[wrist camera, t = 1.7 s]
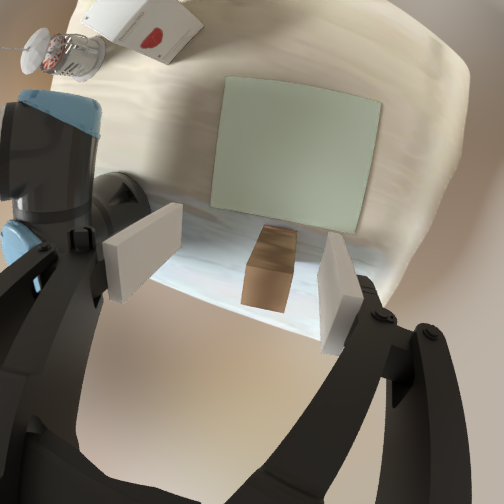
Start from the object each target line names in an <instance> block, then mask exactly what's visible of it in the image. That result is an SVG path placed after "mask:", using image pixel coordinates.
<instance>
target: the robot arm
mask: <svg viewBox="0 0 504 504" xmlns="http://www.w3.org/2000/svg"><path fill="white" fill-rule="evenodd" d="M18 100H19V102H12V103H4V104H3V105H2V107H1V108H0V201H6V200H12V203H13V220H9V221H8V222H7V223H6V224H5V225H4V226H3V228H2V232H1V246H2V250H3V253H4V257H5V259H6V261H7V264H8V267H7V268H6V269H5V270H3V271H2V272H1V273H0V504H201V502H198V501H194V500H191V499H188V498H184V497H181V496H178V495H175V494H172V493H169V492H167V491H164V490H161V489H158V488H156V487H149V486H145V485H139V484H134V483H129V482H125V481H120V480H117V479H113V478H110V477H108V476H106V475H105V474H104V473H103V472H102V471H100V470H99V469H98V468H97V467H96V466H95V465H94V464H93V463H91V462H90V461H89V460H88V459H87V458H86V457H85V456H84V455H83V454H82V453H81V452H80V451H79V443H78V439H77V436H76V420H77V413H78V406H79V400H80V394H81V389H82V384H83V379H84V374H85V369H86V365H87V360H88V356H89V352H90V348H91V344H92V340H93V336H94V332H95V329H96V325H97V322H98V318H99V315H100V311H101V308H102V305H103V294H102V293H103V292H104V291H105V290H106V289H107V288H108V294H109V299H110V300H112V301H115V302H117V303H120V304H124V303H125V302H126V301H127V300H128V299H129V298H130V297H131V296H132V295H133V294H134V292H136V291H137V290H138V289H139V288H140V287H141V285H143V284H144V283H145V281H147V279H149V278H150V277H151V276H152V275H153V274H154V273H155V272H156V271H157V270H158V269H159V268H160V267H161V266H162V265H163V264H164V263H165V262H166V261H167V260H168V259H169V258H170V257H171V256H172V255H173V254H174V253H175V252H176V251H177V250H178V249H179V248H181V237H182V217H183V204H180V203H173V202H171V203H169V204H167V205H166V206H164V207H162V208H160V209H158V210H157V211H155V212H153V213H151V212H150V207H149V203H148V200H147V198H146V196H145V194H144V192H143V190H142V189H141V187H140V186H139V185H138V184H137V183H136V182H135V181H134V180H133V179H132V178H130V177H129V176H127V175H125V174H122V173H118V172H111V173H107V174H103V175H100V176H98V177H96V178H94V171H95V161H96V153H97V146H98V140H99V139H100V134H99V133H100V124H101V116H102V109H101V106H100V104H99V103H98V102H97V101H96V100H94V99H91V98H87V97H83V96H79V95H74V94H69V93H63V92H55V91H47V90H32V89H26V90H23V91H22V92H21V93H20V95H19V96H18ZM317 279H318V294H319V312H320V336H321V353H323V354H330V355H336V356H339V358H338V360H337V362H336V363H335V365H334V366H333V368H332V370H331V371H330V373H329V374H328V376H327V378H326V379H325V381H324V382H323V384H322V386H321V387H320V389H319V390H318V392H317V393H316V395H315V396H314V398H313V399H312V401H311V403H310V404H309V405H308V407H307V408H306V410H305V411H304V412H303V414H302V415H301V417H300V418H299V419H298V421H297V422H296V424H295V425H294V426H293V428H292V429H291V430H290V432H289V433H288V434H287V436H286V437H285V438H284V440H283V441H282V442H281V444H280V445H279V446H278V447H277V449H276V450H275V451H274V453H273V454H272V455H271V456H270V457H269V459H268V460H267V461H266V462H265V463H264V464H263V465H262V466H261V467H260V468H259V469H257V470H256V471H255V472H254V473H253V474H252V475H251V476H250V477H249V478H248V479H247V480H246V482H245V483H244V484H243V485H242V486H241V487H240V488H239V489H238V490H237V491H236V492H235V493H234V494H233V495H232V496H231V497H230V498H229V499H228V500H227V501H226V502H225V503H224V504H324V496H325V494H326V492H327V490H328V489H329V487H330V485H331V484H332V482H333V480H334V478H335V477H336V475H337V473H338V471H339V469H340V468H341V466H342V464H343V462H344V460H345V458H346V456H347V455H348V453H349V451H350V448H351V447H352V445H353V442H354V440H355V438H356V436H357V434H358V432H359V430H360V427H361V425H362V423H363V420H364V418H365V416H366V414H367V411H368V409H369V406H370V404H371V401H372V399H373V397H374V394H375V391H376V389H377V386H378V383H379V380H380V377H383V378H386V418H385V433H384V445H383V455H382V465H381V472H380V478H379V485H378V491H377V497H376V502H375V504H472V486H471V485H472V484H471V464H470V453H469V443H468V435H467V428H466V422H465V416H464V410H463V406H462V400H461V396H460V391H459V386H458V382H457V378H456V374H455V370H454V366H453V363H452V359H451V356H450V352H449V349H448V345H447V342H446V339H445V337H444V335H443V333H442V332H441V331H440V330H439V329H438V328H437V327H435V326H434V325H430V324H426V323H421V324H418V325H417V326H416V328H415V330H414V332H413V331H410V330H407V329H404V328H402V327H400V326H397V318H396V317H395V315H394V314H393V313H392V312H390V311H389V310H387V309H385V308H383V307H382V304H381V301H380V299H379V296H378V295H377V291H376V290H375V286H374V284H373V282H372V281H371V280H370V279H369V278H368V277H367V276H362V275H357V274H356V273H355V270H354V267H353V264H352V261H351V258H350V255H349V252H348V250H347V247H346V244H345V242H344V239H343V236H342V234H340V233H335V232H330V231H328V235H327V239H326V243H325V247H324V251H323V255H322V259H321V263H320V266H319V270H318V274H317ZM343 347H345V348H344V349H343ZM342 349H343V351H342ZM341 351H342V353H341Z"/></svg>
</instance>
